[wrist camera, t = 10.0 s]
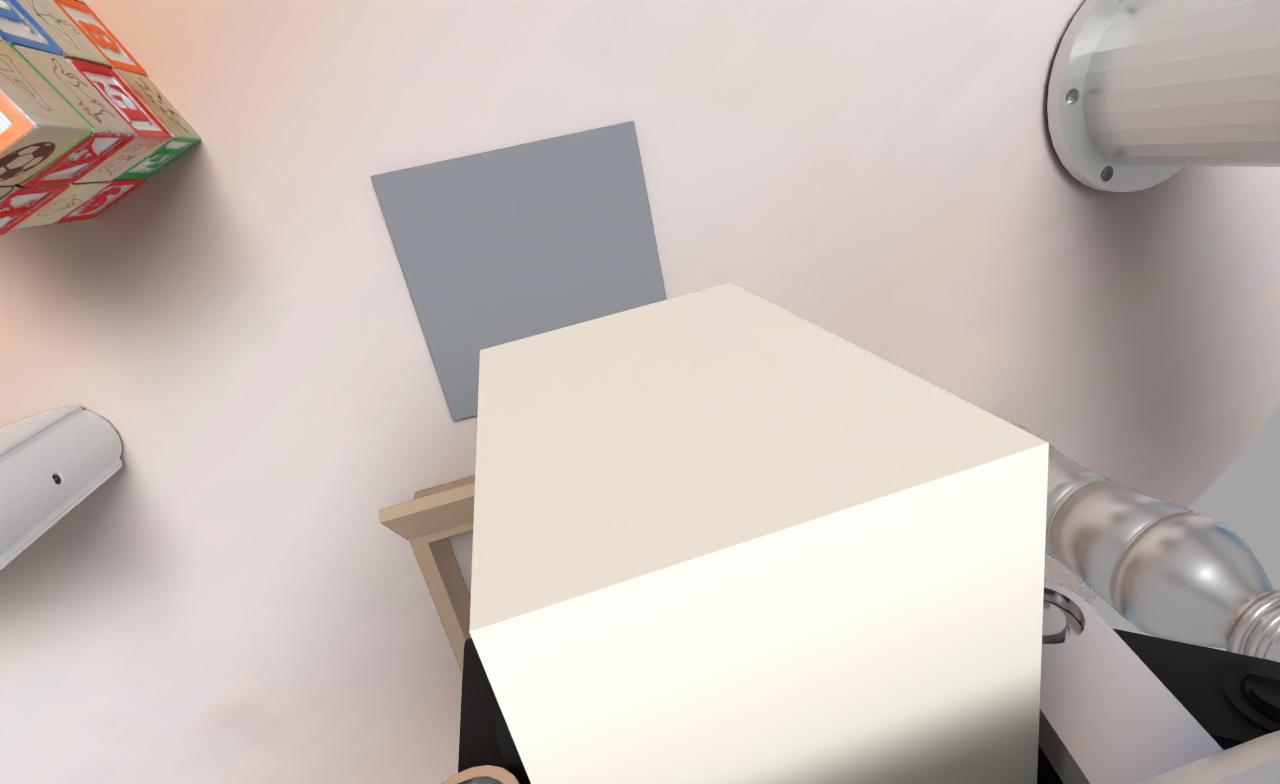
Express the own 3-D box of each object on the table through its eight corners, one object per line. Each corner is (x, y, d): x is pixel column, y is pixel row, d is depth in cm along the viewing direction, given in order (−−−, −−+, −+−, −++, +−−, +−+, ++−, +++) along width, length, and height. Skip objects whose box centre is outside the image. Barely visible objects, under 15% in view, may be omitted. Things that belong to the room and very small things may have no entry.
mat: (632, 121, 33) (633, 120, 32) (676, 359, 37) (677, 361, 37) (371, 176, 31) (370, 176, 30) (453, 418, 36) (453, 421, 35)
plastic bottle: (932, 508, 46) (1234, 741, 27) (928, 424, 43) (1257, 620, 25) (1011, 481, 46) (1356, 689, 28) (1011, 397, 44) (1391, 566, 26)
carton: (761, 346, 38) (823, 387, 31) (806, 687, 49) (860, 774, 42) (397, 445, 35) (377, 514, 28) (527, 786, 46) (535, 897, 39)
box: (730, 282, 11) (1048, 442, 5) (792, 661, 15) (1028, 1050, 8) (479, 350, 11) (469, 631, 4) (603, 728, 14) (700, 1199, 8)
